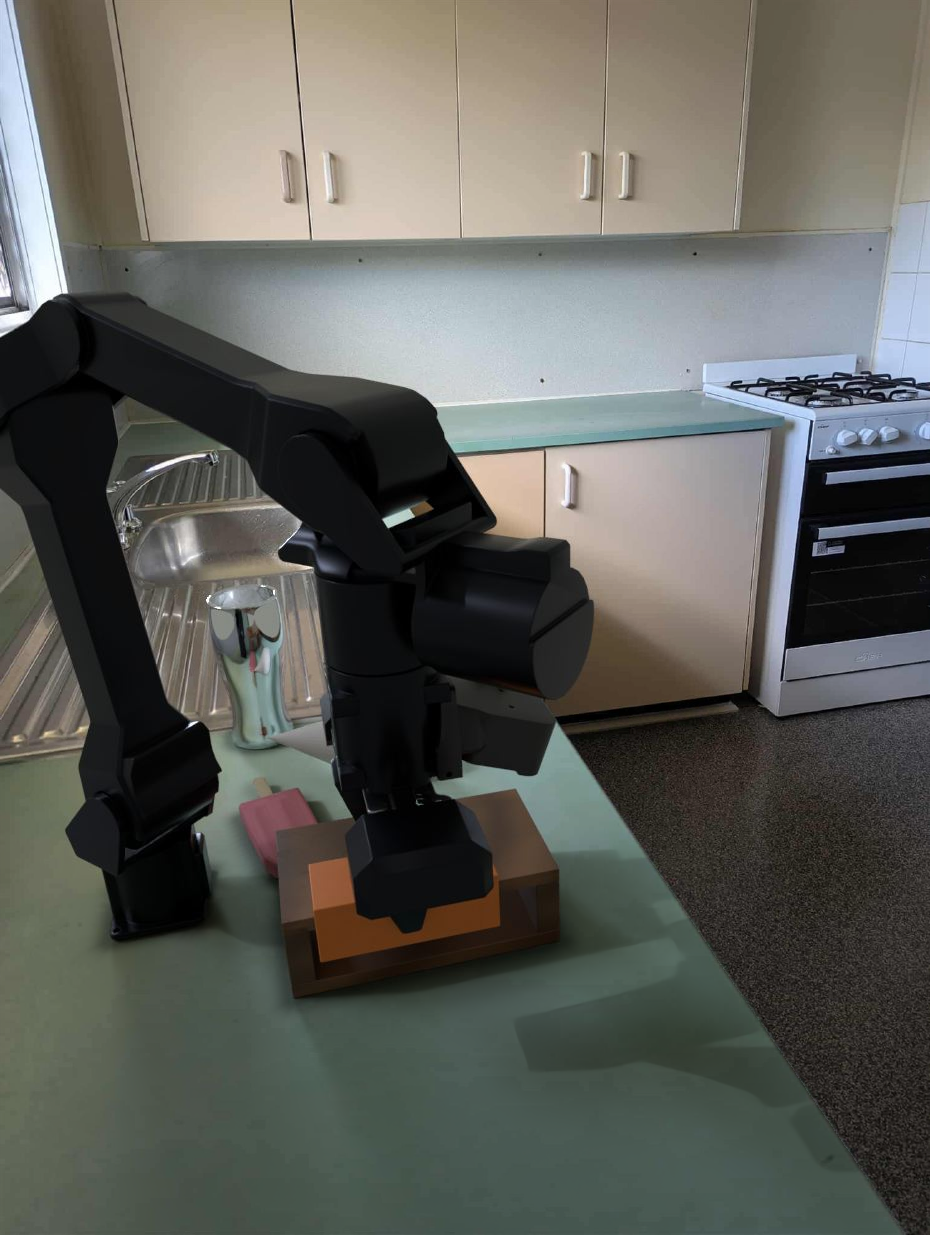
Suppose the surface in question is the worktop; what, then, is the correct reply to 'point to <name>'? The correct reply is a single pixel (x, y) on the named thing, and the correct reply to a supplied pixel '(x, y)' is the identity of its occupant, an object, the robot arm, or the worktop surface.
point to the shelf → (522, 924)
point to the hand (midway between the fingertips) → (405, 905)
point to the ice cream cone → (307, 741)
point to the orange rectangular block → (359, 935)
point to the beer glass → (251, 661)
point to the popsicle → (273, 819)
